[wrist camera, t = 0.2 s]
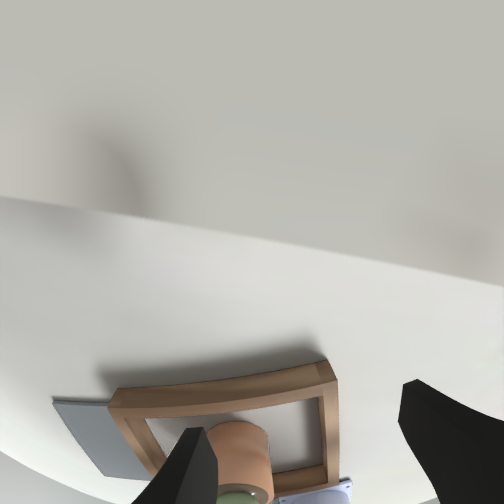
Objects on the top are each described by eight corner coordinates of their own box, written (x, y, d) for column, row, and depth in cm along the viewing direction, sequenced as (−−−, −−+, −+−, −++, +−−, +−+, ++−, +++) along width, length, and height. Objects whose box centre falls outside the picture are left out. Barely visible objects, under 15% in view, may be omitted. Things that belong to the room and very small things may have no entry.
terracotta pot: (272, 454, 22) (282, 535, 13) (215, 460, 22) (209, 540, 13) (262, 417, 21) (271, 510, 12) (198, 424, 21) (185, 514, 12)
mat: (161, 477, 23) (161, 481, 22) (105, 472, 23) (104, 476, 22) (114, 402, 20) (112, 406, 20) (54, 400, 20) (52, 403, 20)
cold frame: (333, 466, 23) (338, 485, 20) (176, 485, 23) (173, 503, 21) (328, 359, 20) (337, 380, 17) (117, 388, 20) (106, 408, 17)
